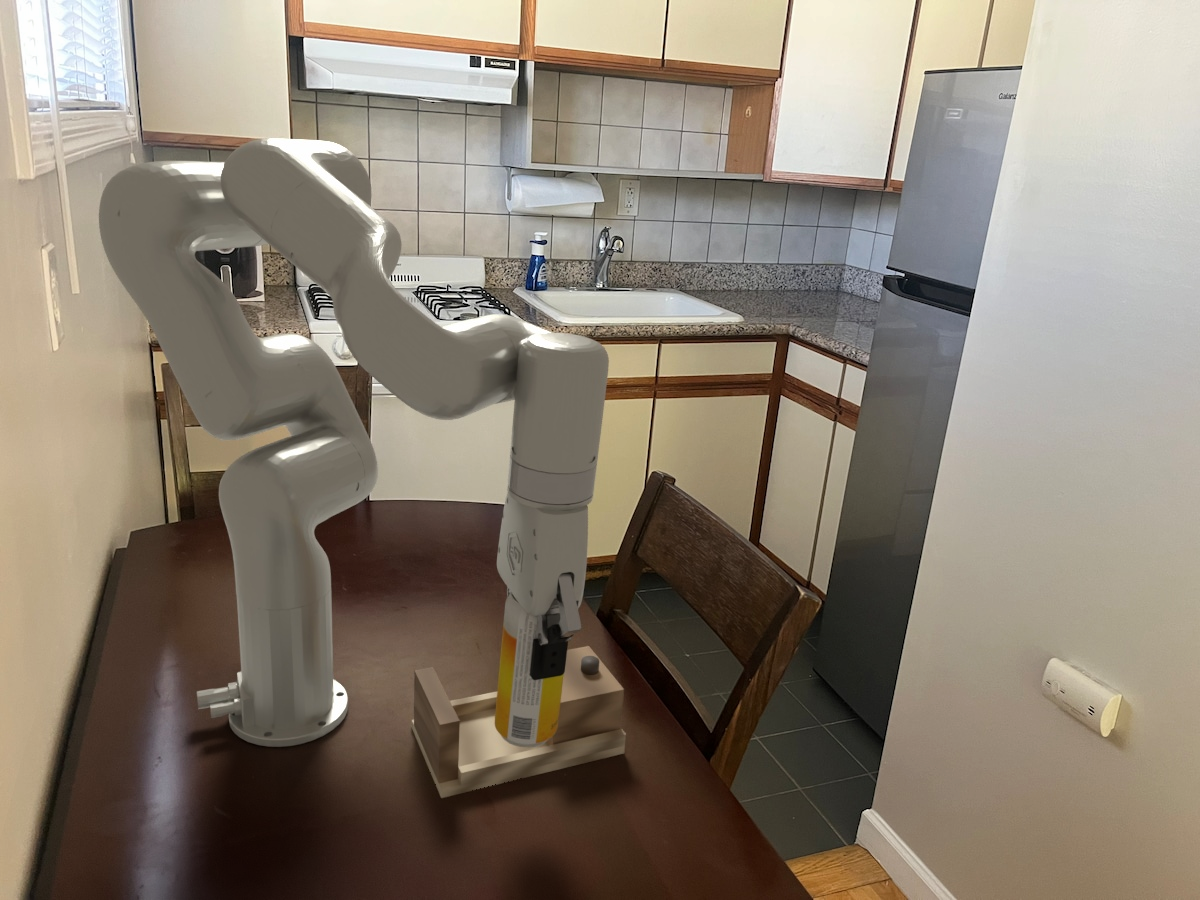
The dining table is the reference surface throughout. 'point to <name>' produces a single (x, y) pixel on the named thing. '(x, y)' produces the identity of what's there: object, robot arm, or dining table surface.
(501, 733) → the beer can
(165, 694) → the dining table surface
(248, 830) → the dining table surface
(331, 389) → the robot arm
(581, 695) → the block
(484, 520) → the dining table surface
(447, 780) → the vise base
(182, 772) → the dining table surface
